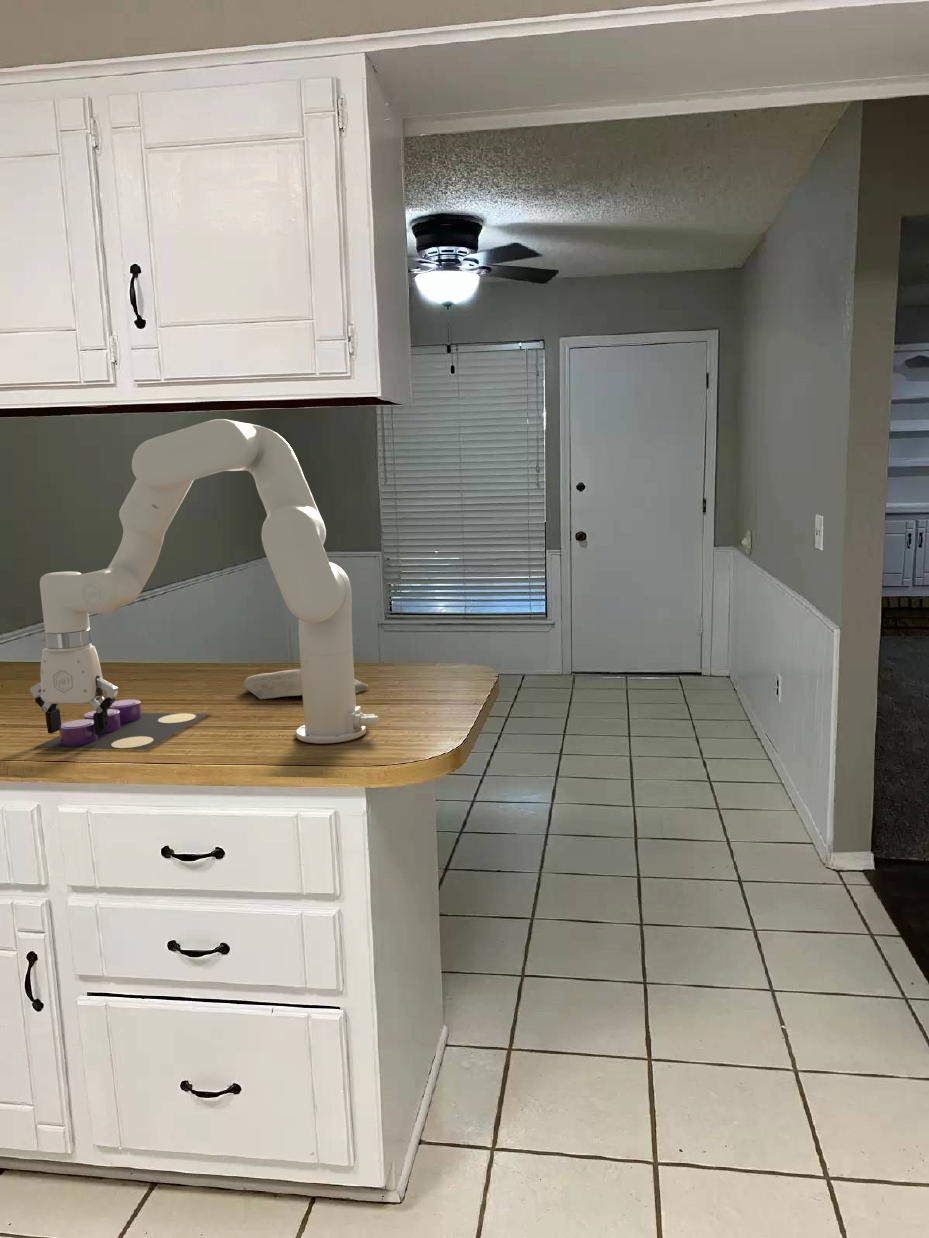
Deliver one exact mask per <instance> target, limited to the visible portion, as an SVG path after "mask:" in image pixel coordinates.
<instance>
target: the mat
mask: <svg viewBox="0 0 929 1238" xmlns="http://www.w3.org/2000/svg"><path fill="white" fill-rule="evenodd" d="M141 713H142V717H141V718H140V719H138V720H135V721H131V722H125V723H121V728H120V729H118V730H116V731H112V732H108V733H101V734H98V739H97V740H96V741H94V742H91V743H87V744H83V745H74V746H67V745H62V744H61V741H60V735H59V736H57V737H54V738H52V739H50V740H48V741H46V742H43V743H42V744H39V745H37V746H36V748H38V749H39V748H41V749H42V748H43V749H44V748H46V749H48V748H49V749H91V750H92V749H93V750H95V749H98V750H99V749H100V750H143V751H144V750H149V749H150V748H152V747H154V746H156V745H157V744H159V743H161V742H163V741H165V740H166V739H168V738H170V737H171V736H174V735H175V734H176V733H179V732H180V731H182V730H184V729H185V728H187V727H189V726H191V725H192V724H195V723H196V722H199V721H200V720H202V719H204V718H205V717H207V716H209V715H210V714H209V713H187V712H185V713H162V712H159V713H157V712H155V713H152V712H150V713H149V712H141Z"/></svg>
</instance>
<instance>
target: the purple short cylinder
mask: <svg viewBox="0 0 929 1238" xmlns="http://www.w3.org/2000/svg"><path fill="white" fill-rule="evenodd" d="M58 731H59V736H60V741H61V744H62V745H67V746H74V745H83V744H87V743H91V742H94V741H96V740H97V739H98V734H95V728H94V720H91V719H84V718H83V719H75V720H70V721H66V722H63V723H61V725H60V726H59V730H58Z"/></svg>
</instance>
